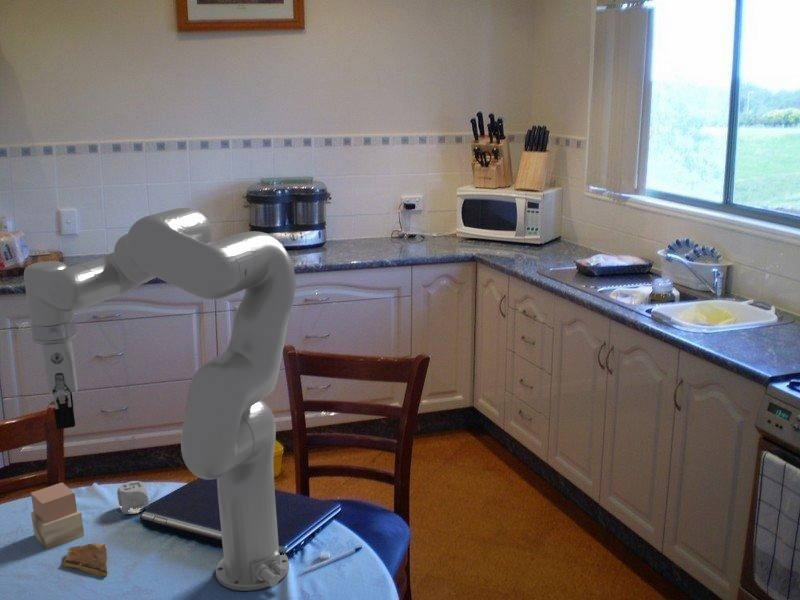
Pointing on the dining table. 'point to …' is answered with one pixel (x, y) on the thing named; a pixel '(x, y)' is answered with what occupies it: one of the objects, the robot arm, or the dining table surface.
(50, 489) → the tower top
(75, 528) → the tower base
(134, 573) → the dining table surface
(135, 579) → the dining table surface
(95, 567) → the shard
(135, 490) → the die
